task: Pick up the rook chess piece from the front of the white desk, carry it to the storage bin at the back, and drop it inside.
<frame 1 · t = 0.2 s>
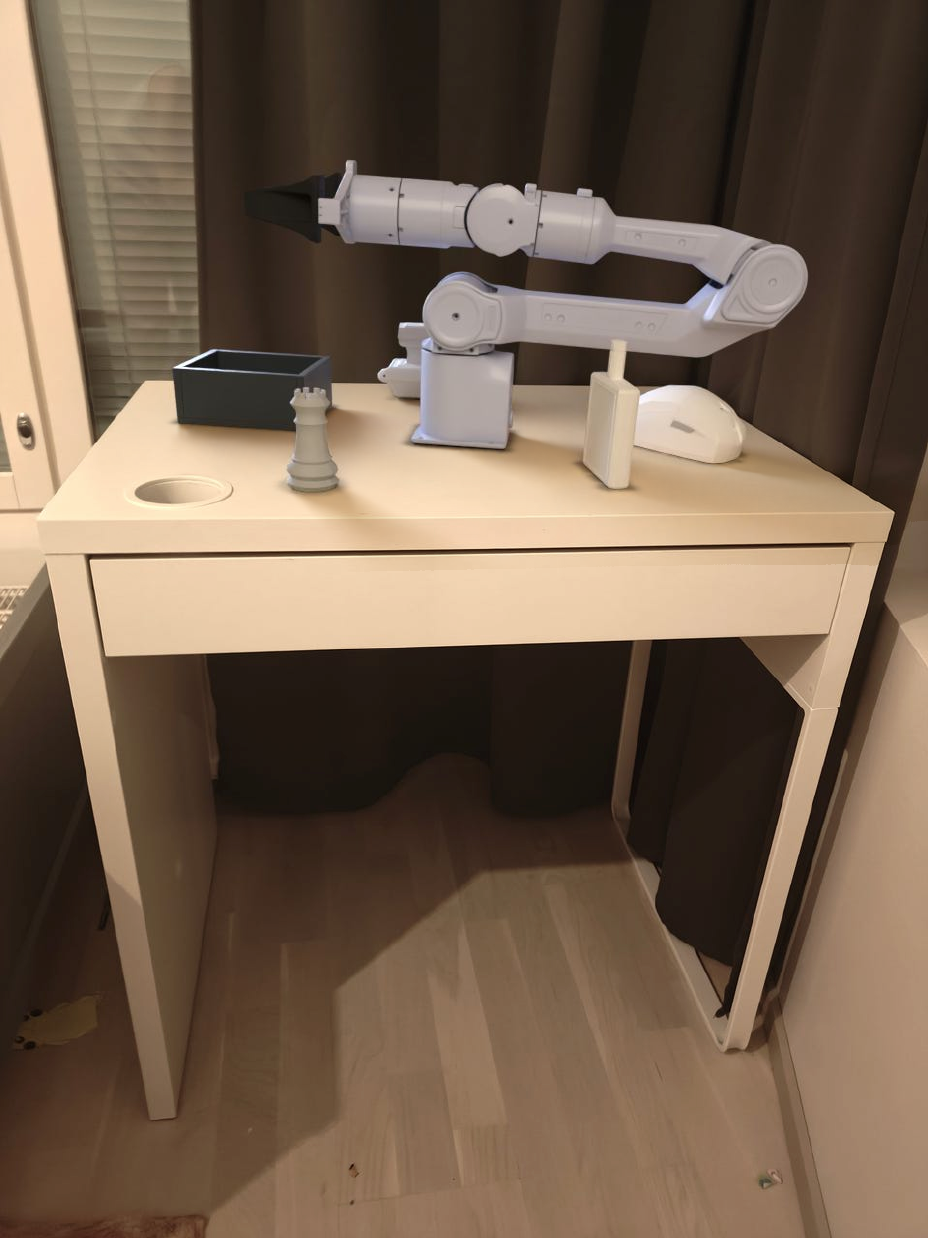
hand: (257, 201, 85), 21 cm above the table, tool horizontal, fingers open, 7 cm apart
perfume bottle: (603, 477, 84), on the table
computer mouse: (678, 449, 94), on the table
white mechanical part: (414, 397, 111), on the table
storage bin: (258, 414, 99), on the table
rook chess piece: (312, 487, 78), on the table
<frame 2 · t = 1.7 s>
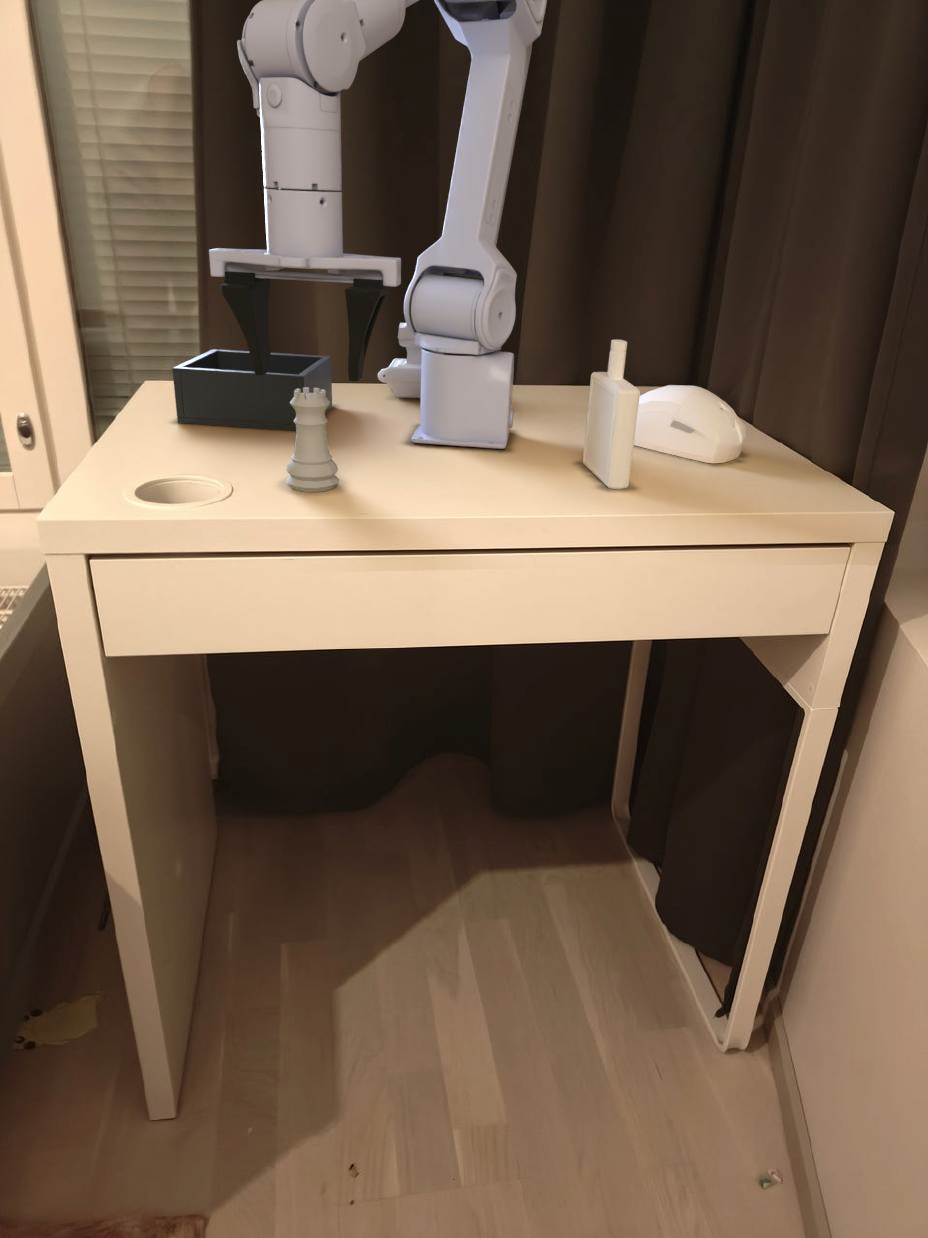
hand: (309, 375, 73), 9 cm above the table, tool pointing down, fingers open, 7 cm apart
nothing on the table moved.
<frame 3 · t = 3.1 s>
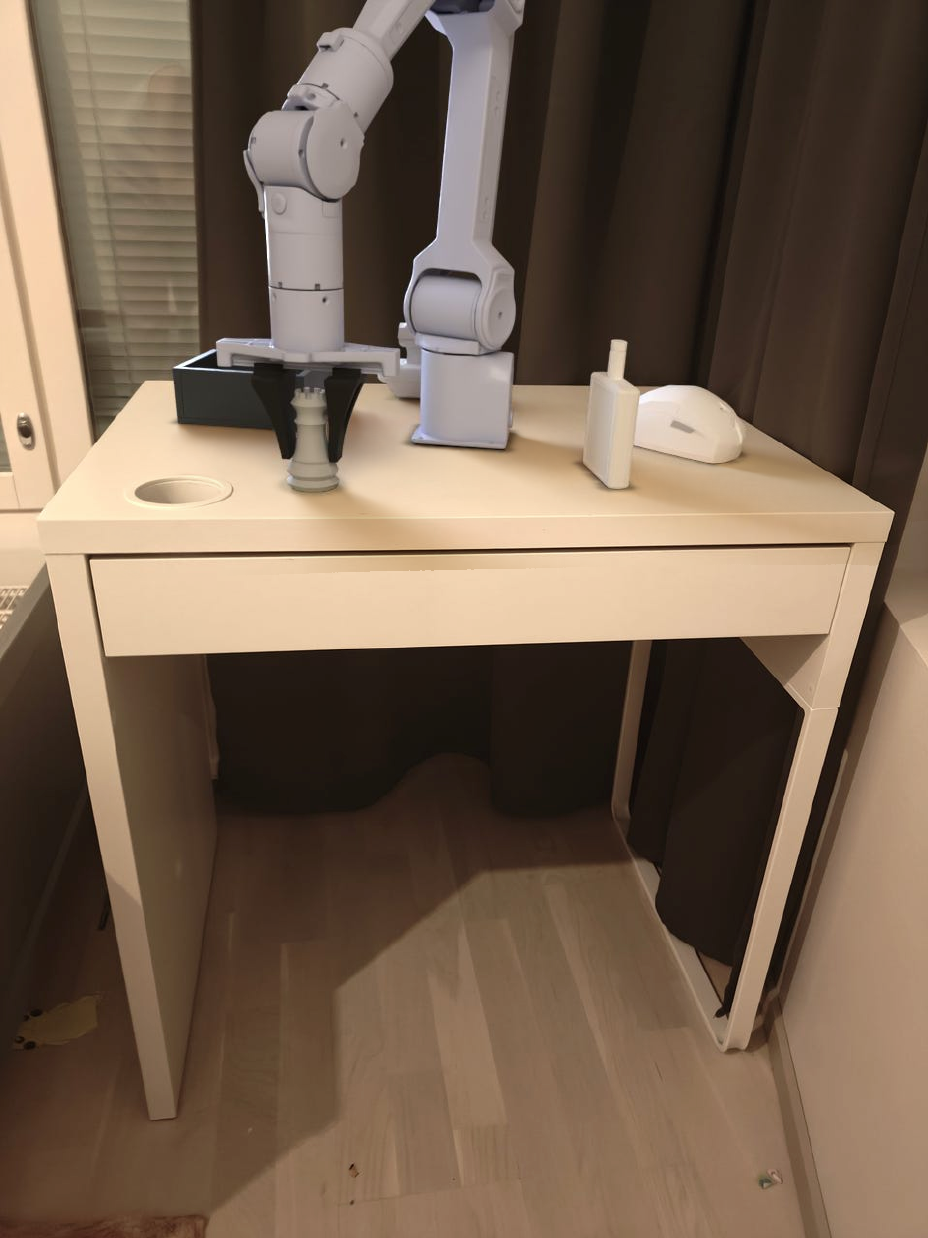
hand: (311, 457, 76), 2 cm above the table, tool pointing down, fingers closed on rook chess piece, 3 cm apart
rook chess piece: (313, 487, 78), on the table, touching gripper
everything else where it was.
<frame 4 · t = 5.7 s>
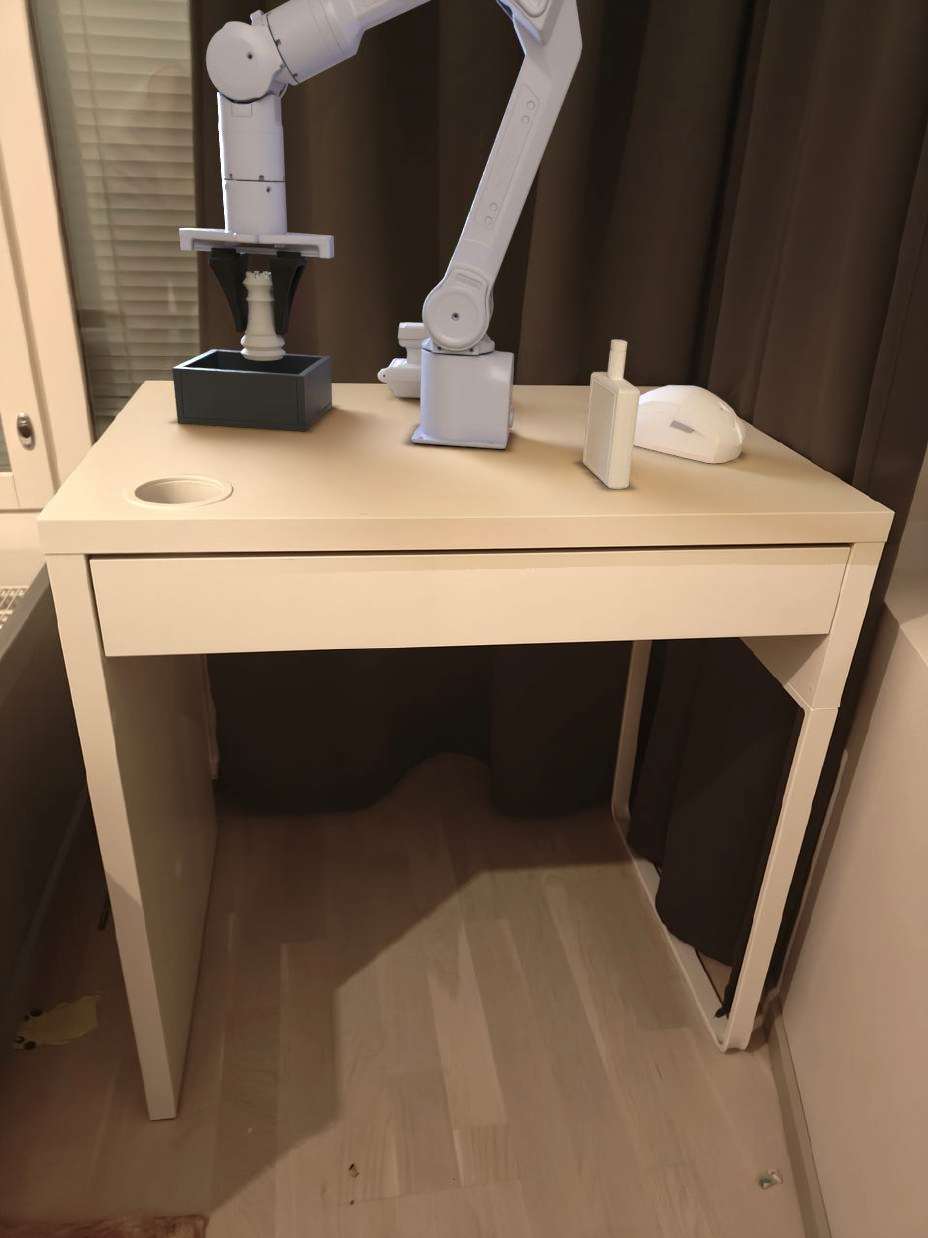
hand: (262, 332, 91), 9 cm above the table, tool pointing down, fingers closed on rook chess piece, 3 cm apart
rook chess piece: (263, 359, 92), point 7 cm above the table, touching gripper
everything else where it was.
when the fingers open (3 cm above the table, at t = 8.2 s): rook chess piece stays where it is, resting on storage bin.
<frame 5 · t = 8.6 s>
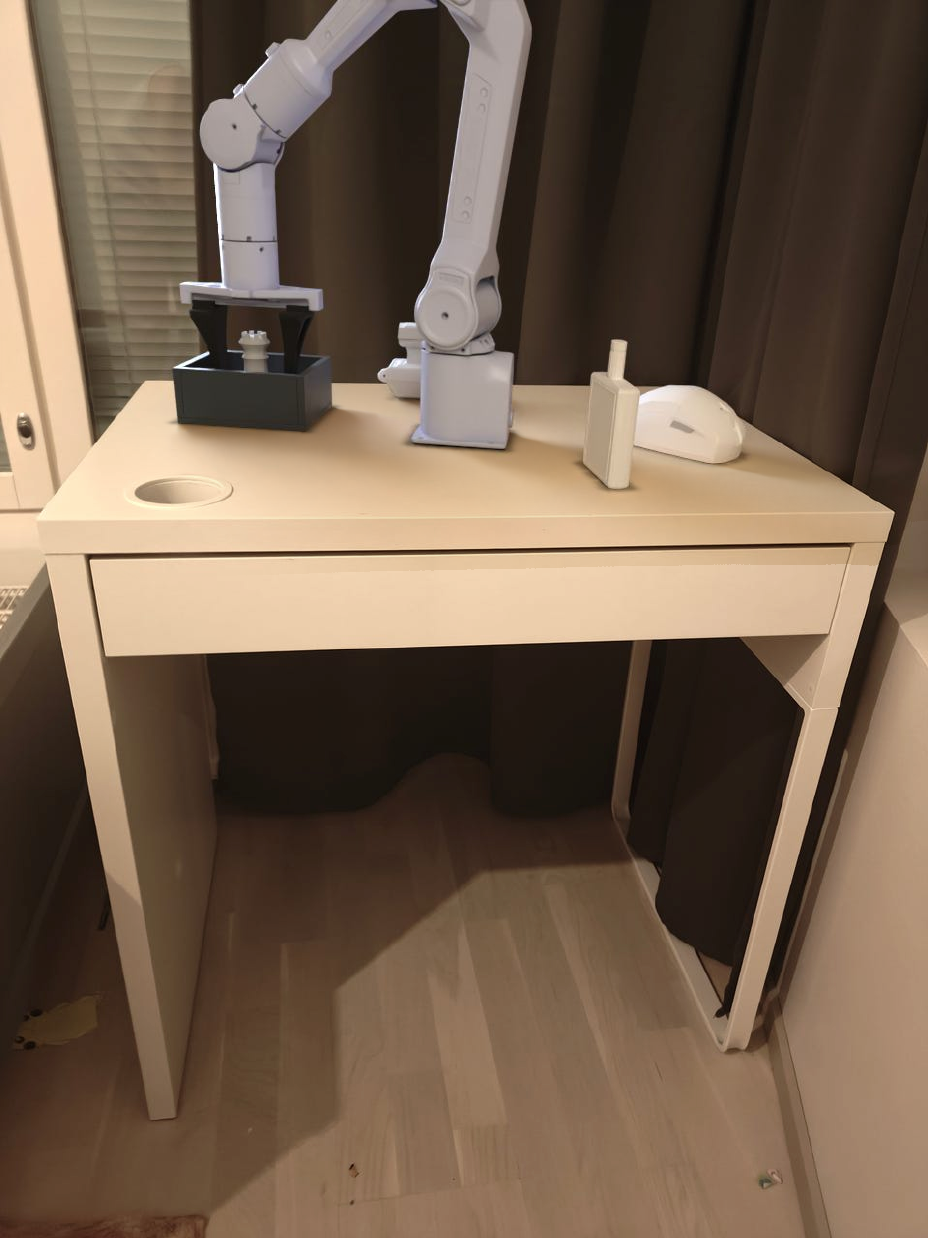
hand: (256, 377, 97), 4 cm above the table, tool pointing down, fingers open, 7 cm apart
rook chess piece: (258, 410, 99), resting on storage bin
everything else where it was.
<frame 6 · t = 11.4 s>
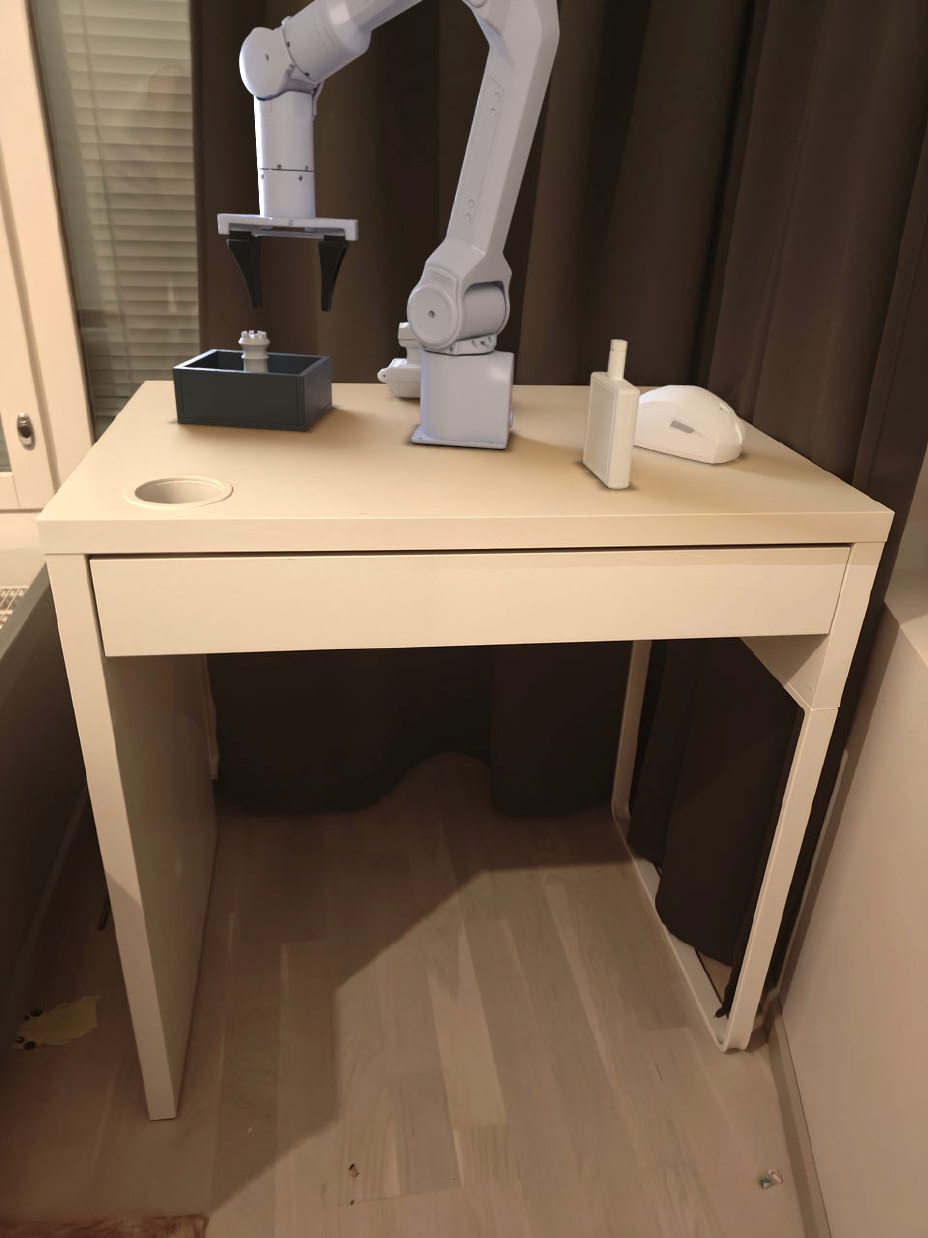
hand: (291, 308, 100), 10 cm above the table, tool pointing down, fingers open, 7 cm apart
nothing on the table moved.
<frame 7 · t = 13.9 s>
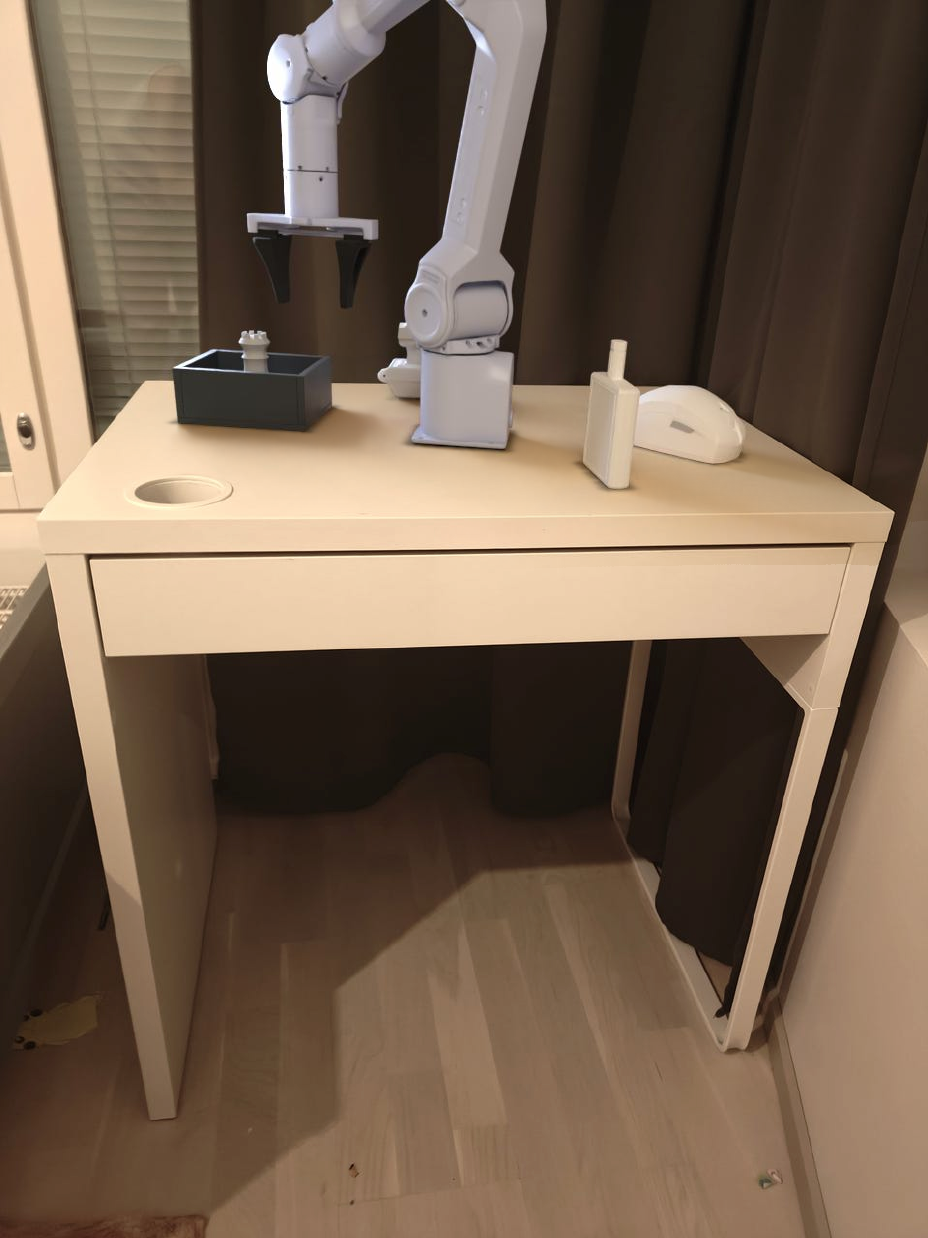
hand: (314, 305, 103), 10 cm above the table, tool pointing down, fingers open, 7 cm apart
nothing on the table moved.
at the end: rook chess piece inside the target area in the storage bin (0.1 cm from its centre), point 0.4 cm above the storage bin's base; the gripper is holding nothing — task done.
